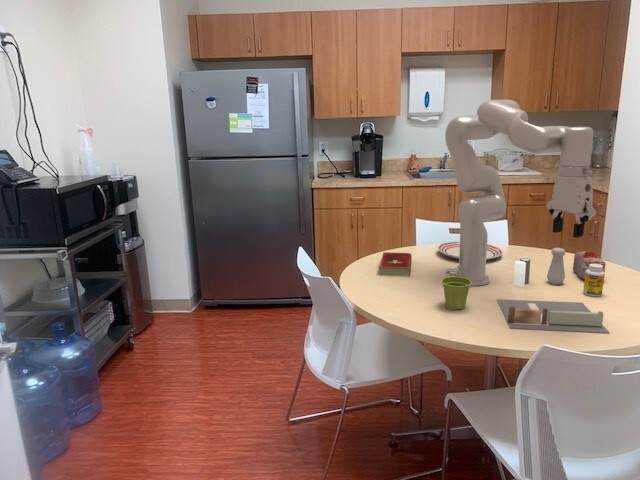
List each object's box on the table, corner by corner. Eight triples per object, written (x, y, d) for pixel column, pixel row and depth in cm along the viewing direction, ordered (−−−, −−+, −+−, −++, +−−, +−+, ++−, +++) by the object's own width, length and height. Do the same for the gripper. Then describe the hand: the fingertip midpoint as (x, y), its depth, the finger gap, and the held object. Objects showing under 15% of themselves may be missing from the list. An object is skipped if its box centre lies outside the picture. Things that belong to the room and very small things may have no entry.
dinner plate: (498, 248, 217) (498, 241, 216) (507, 266, 191) (507, 258, 190) (437, 246, 223) (437, 239, 222) (437, 263, 197) (437, 256, 196)
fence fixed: (508, 324, 138) (509, 308, 137) (507, 321, 140) (508, 306, 138) (546, 325, 136) (548, 310, 135) (545, 323, 138) (546, 308, 136)
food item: (606, 283, 168) (610, 257, 165) (583, 283, 169) (586, 257, 166) (590, 271, 181) (593, 247, 178) (568, 271, 182) (571, 247, 179)
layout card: (510, 328, 135) (510, 327, 135) (497, 300, 156) (497, 299, 156) (609, 333, 130) (609, 332, 130) (582, 303, 151) (582, 302, 151)
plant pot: (466, 314, 146) (467, 288, 143) (436, 308, 150) (437, 283, 148) (473, 304, 153) (475, 279, 151) (445, 299, 158) (446, 274, 156)
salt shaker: (566, 286, 166) (569, 251, 163) (548, 285, 167) (552, 250, 164) (561, 280, 172) (564, 246, 168) (544, 280, 173) (547, 246, 170)
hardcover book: (411, 261, 201) (411, 252, 200) (410, 277, 182) (410, 267, 181) (383, 261, 204) (383, 251, 203) (379, 276, 184) (379, 266, 183)
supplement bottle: (585, 296, 157) (588, 267, 154) (581, 290, 162) (584, 262, 159) (603, 297, 155) (607, 268, 152) (599, 292, 160) (603, 263, 157)
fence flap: (549, 323, 136) (550, 310, 135) (547, 321, 137) (549, 309, 136) (602, 326, 133) (603, 313, 132) (600, 324, 134) (602, 311, 133)
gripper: (612, 173, 125) (604, 239, 130) (556, 168, 141) (551, 227, 145) (593, 176, 122) (585, 242, 127) (538, 170, 138) (533, 230, 142)
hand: (567, 233), depth 136 cm, fingers open, 6 cm apart
